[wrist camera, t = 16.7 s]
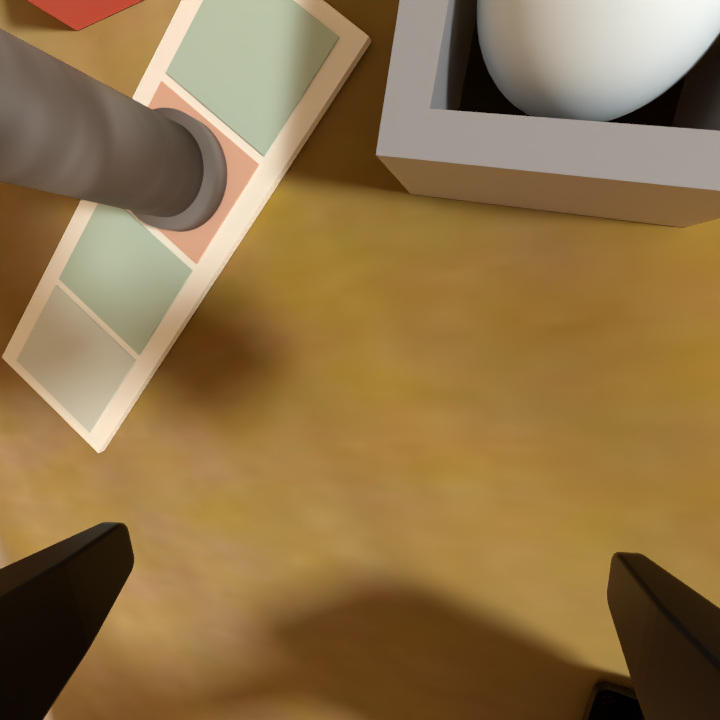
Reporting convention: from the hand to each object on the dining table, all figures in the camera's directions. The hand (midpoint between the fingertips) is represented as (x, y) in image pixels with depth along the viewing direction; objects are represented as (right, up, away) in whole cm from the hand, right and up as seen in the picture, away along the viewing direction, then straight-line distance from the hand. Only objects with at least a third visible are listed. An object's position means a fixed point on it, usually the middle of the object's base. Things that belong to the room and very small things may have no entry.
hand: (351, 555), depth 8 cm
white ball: (+7, +14, +7) cm, 17 cm away
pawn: (-8, +12, +12) cm, 19 cm away
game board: (-10, +10, +14) cm, 20 cm away
